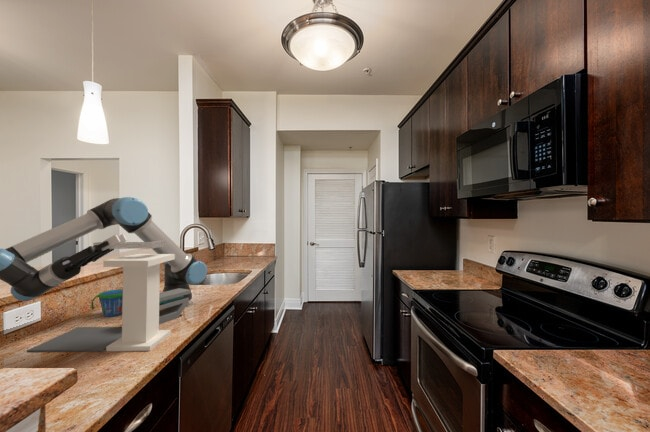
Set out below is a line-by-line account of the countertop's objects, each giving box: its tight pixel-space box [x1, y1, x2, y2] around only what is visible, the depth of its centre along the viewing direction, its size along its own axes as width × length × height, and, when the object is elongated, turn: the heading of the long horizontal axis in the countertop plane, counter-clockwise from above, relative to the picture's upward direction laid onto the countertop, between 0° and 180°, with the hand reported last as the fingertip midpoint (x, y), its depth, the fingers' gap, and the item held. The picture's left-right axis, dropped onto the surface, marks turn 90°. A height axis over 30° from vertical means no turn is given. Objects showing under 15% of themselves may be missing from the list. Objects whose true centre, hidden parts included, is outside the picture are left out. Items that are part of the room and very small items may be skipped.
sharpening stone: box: [159, 288, 192, 325], centre depth 122 cm, size 25×8×11 cm, turn 155°
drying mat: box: [26, 326, 122, 353], centre depth 103 cm, size 24×20×1 cm
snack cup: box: [90, 288, 123, 318], centre depth 130 cm, size 16×10×10 cm
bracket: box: [92, 241, 167, 250], centre depth 105 cm, size 20×10×2 cm, turn 92°
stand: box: [102, 253, 175, 352], centre depth 101 cm, size 14×18×30 cm
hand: (121, 237), depth 101 cm, fingers closed on bracket, 3 cm apart
